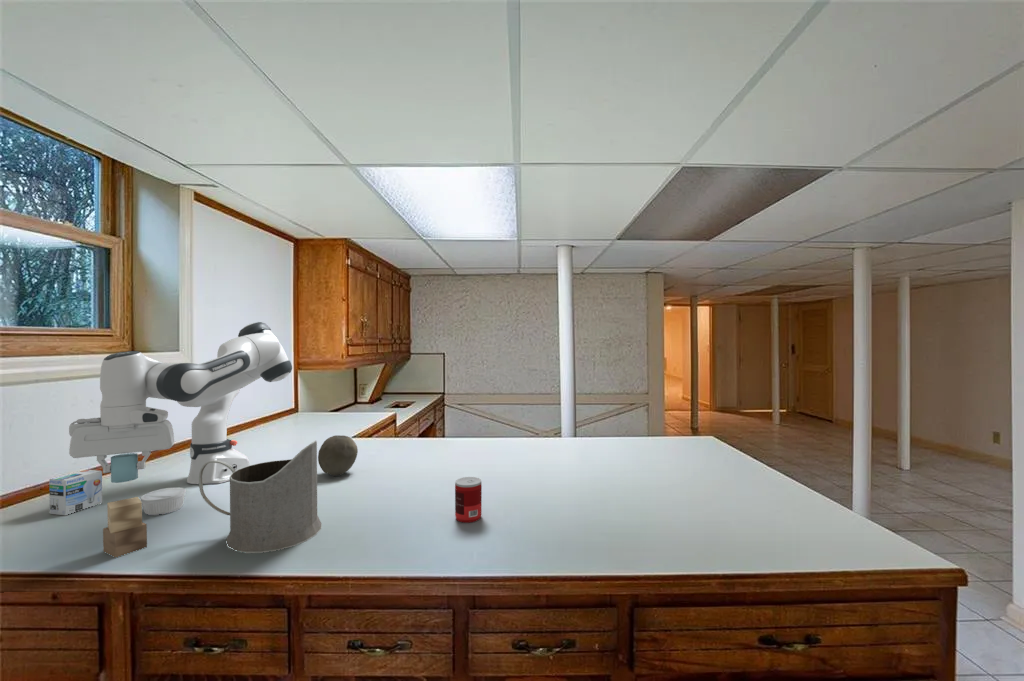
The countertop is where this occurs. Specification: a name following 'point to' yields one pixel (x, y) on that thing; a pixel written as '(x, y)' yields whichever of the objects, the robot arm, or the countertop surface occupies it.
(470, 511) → the canned food
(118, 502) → the oak block
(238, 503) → the pitcher
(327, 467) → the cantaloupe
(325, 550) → the countertop surface
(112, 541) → the walnut block
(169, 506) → the ramekin
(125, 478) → the teal tapered block
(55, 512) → the light bulb box
